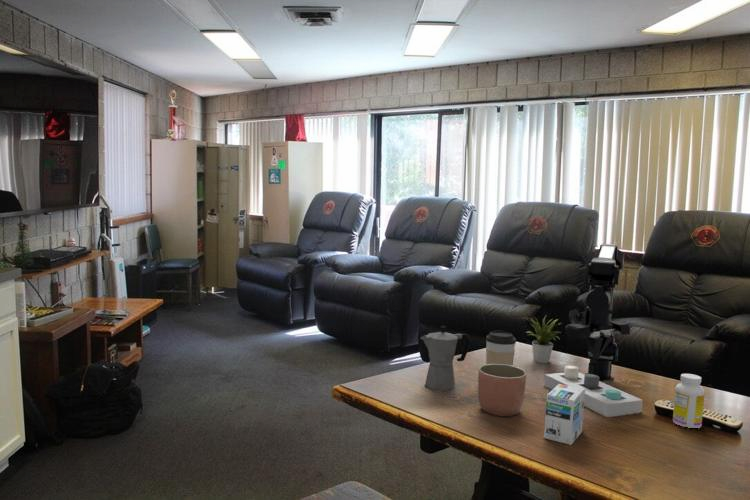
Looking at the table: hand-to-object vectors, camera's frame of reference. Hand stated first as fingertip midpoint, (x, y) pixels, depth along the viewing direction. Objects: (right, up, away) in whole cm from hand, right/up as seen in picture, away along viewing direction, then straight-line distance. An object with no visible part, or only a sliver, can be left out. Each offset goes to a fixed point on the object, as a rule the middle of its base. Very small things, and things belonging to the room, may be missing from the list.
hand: (595, 359), depth 171 cm
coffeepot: (-42, -9, +8) cm, 44 cm away
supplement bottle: (+18, -14, -15) cm, 28 cm away
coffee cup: (-25, -9, +15) cm, 30 cm away
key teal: (+2, -12, -6) cm, 13 cm away
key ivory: (-4, -8, +9) cm, 13 cm away
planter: (-29, -12, -11) cm, 33 cm away
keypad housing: (-1, -12, +2) cm, 12 cm away
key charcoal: (-1, -9, +1) cm, 9 cm away
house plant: (-6, -8, +38) cm, 39 cm away
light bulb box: (-17, -14, -25) cm, 33 cm away
